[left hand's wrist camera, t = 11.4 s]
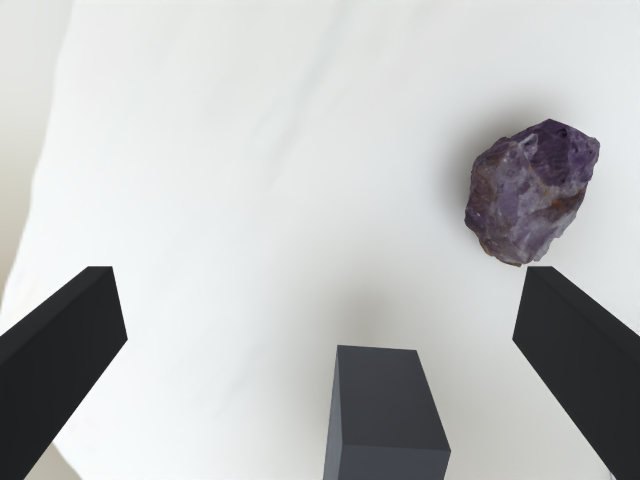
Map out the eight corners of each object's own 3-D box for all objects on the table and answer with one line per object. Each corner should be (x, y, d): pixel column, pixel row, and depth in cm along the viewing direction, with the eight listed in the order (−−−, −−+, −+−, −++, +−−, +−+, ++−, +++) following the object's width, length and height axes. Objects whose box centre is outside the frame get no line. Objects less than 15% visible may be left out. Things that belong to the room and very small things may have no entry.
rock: (565, 145, 37) (467, 108, 35) (647, 146, 28) (523, 97, 27) (513, 262, 39) (419, 232, 37) (574, 295, 31) (456, 258, 29)
